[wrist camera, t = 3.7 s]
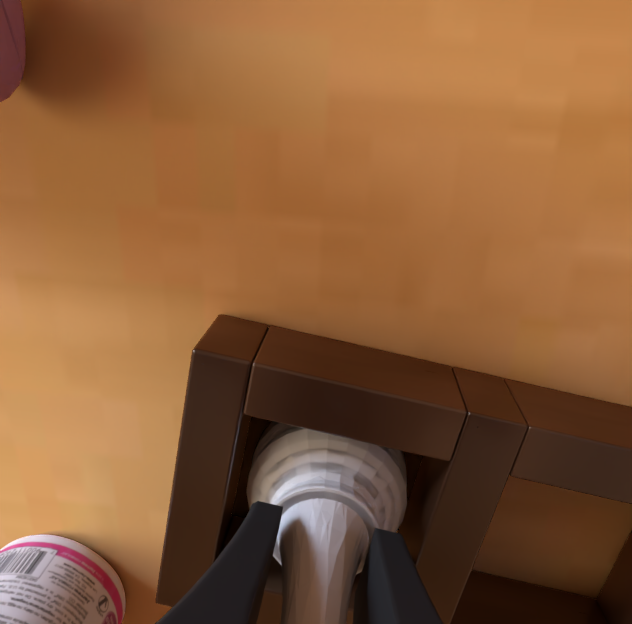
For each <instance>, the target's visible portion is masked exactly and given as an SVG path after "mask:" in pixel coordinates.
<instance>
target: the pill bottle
mask: <svg viewBox="0 0 632 624" xmlns="http://www.w3.org/2000/svg"><path fill="white" fill-rule="evenodd" d="M125 609H126V598H125V592H124V588H123V585H122V583H121V580H120V578H119V577H118V575H117V573H116V572H115V570H114V569H113V568H112V567H111V566H110V565H109V564H108V563H107V562H106V561H105V560H104V559H103V558H102V557H101V556H99V555H98V554H97V553H95V552H94V551H92V550H91V549H89V548H88V547H86V546H84V545H82V544H80V543H78V542H76V541H74V540H71V539H68V538H65V537H61V536H56V535H31V536H26V537H23V538H20V539H17V540H15V541H13V542H11V543H9V544H8V545H6V546H5V547H3V548H2V549H1V550H0V624H122V621H123V618H124V614H125Z"/></svg>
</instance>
